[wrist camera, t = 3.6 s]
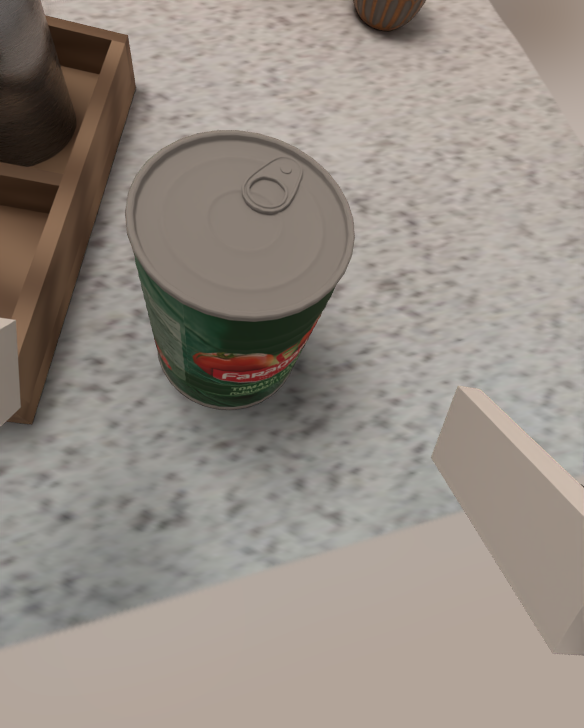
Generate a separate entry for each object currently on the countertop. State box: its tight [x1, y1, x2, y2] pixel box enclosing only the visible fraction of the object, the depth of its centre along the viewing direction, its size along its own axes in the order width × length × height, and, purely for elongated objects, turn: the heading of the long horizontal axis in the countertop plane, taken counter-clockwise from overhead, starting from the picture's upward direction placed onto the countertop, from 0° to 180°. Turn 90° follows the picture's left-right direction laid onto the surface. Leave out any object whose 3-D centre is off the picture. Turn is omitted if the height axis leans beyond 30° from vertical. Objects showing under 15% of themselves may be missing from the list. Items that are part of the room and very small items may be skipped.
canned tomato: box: [125, 130, 355, 410], centre depth 20 cm, size 8×8×11 cm
